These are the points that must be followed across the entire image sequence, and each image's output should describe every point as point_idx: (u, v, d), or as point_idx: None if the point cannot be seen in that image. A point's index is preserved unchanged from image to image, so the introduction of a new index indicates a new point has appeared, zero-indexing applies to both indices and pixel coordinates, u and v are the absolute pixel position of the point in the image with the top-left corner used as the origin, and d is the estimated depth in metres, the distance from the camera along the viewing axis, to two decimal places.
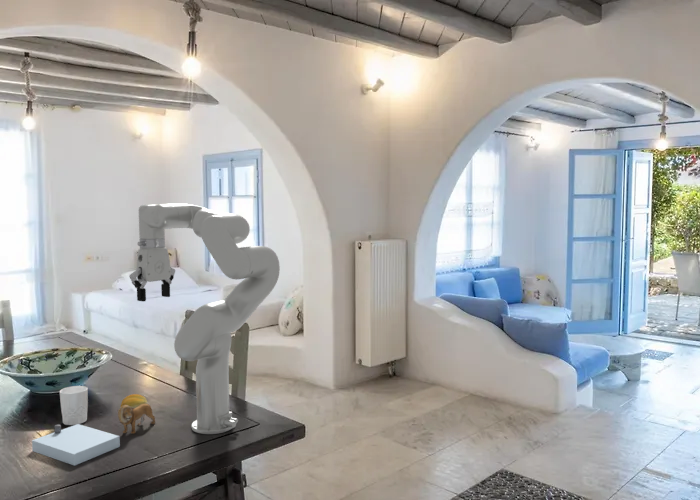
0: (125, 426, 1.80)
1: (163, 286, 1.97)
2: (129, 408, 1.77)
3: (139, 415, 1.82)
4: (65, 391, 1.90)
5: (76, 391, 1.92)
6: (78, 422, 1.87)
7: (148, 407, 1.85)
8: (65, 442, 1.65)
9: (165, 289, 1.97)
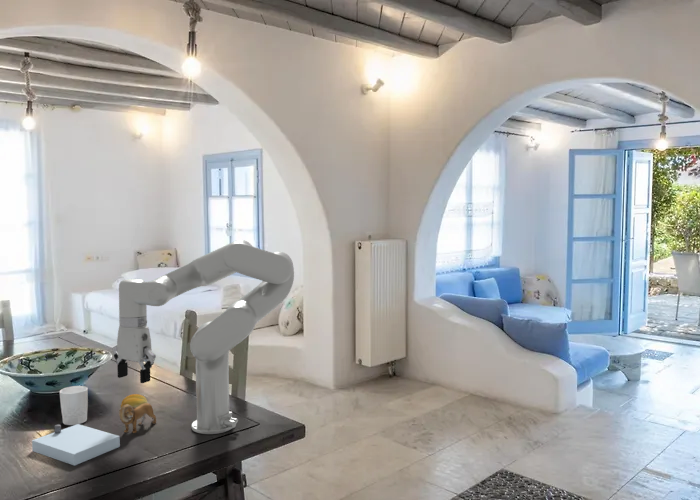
0: (126, 425, 1.81)
1: (122, 366, 1.83)
2: (130, 407, 1.78)
3: (140, 414, 1.83)
4: (65, 391, 1.90)
5: (76, 391, 1.92)
6: (78, 422, 1.87)
7: (149, 406, 1.85)
8: (65, 442, 1.65)
9: (124, 368, 1.84)
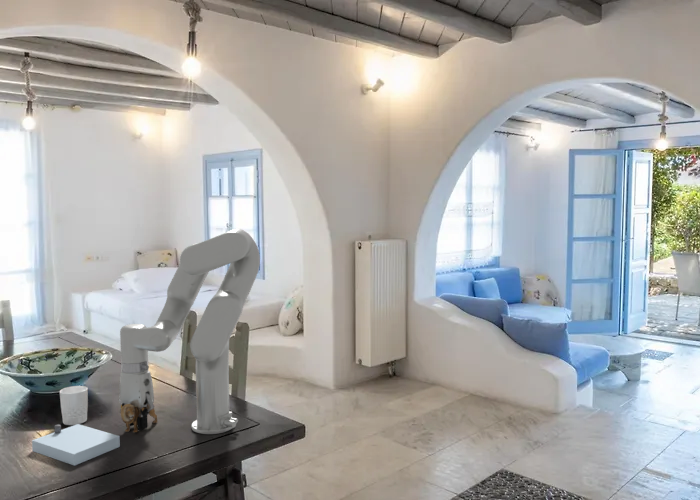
0: (127, 425, 1.81)
1: None
2: (132, 407, 1.78)
3: None
4: (65, 391, 1.90)
5: (76, 391, 1.92)
6: (78, 422, 1.87)
7: None
8: (65, 442, 1.65)
9: None
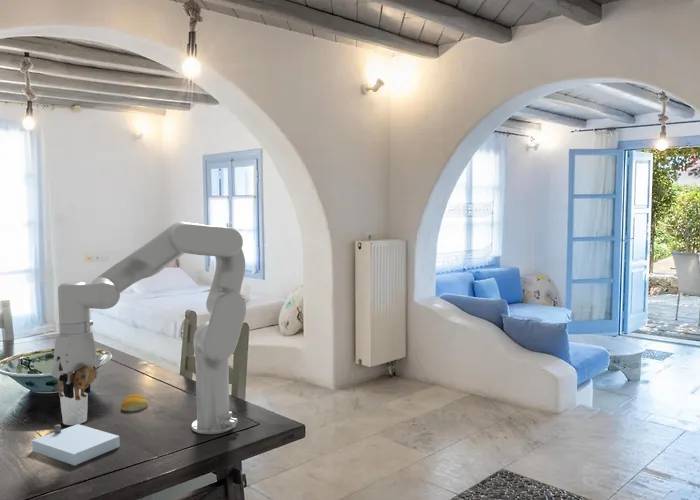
0: (78, 392, 1.65)
1: None
2: None
3: None
4: None
5: None
6: (78, 422, 1.87)
7: None
8: (65, 442, 1.65)
9: None
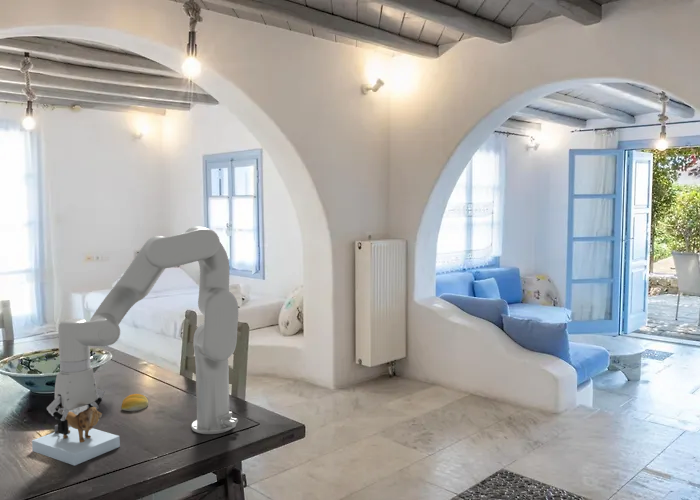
0: (82, 434, 1.66)
1: None
2: None
3: None
4: None
5: None
6: None
7: None
8: (65, 442, 1.65)
9: None
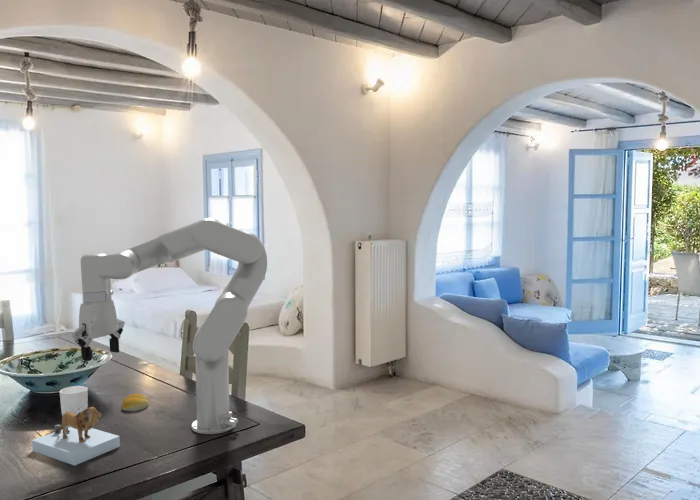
0: None
1: None
2: None
3: None
4: (65, 391, 1.90)
5: (76, 391, 1.92)
6: None
7: None
8: (65, 442, 1.65)
9: None
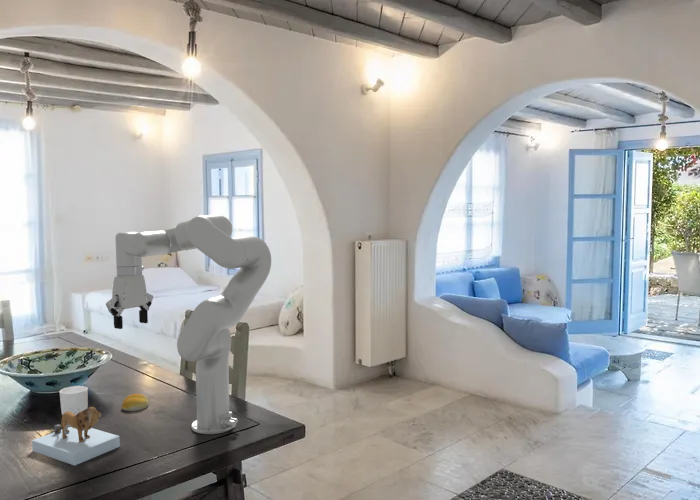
0: (81, 434, 1.66)
1: None
2: None
3: None
4: (65, 391, 1.90)
5: (76, 391, 1.92)
6: None
7: None
8: (65, 442, 1.65)
9: None
